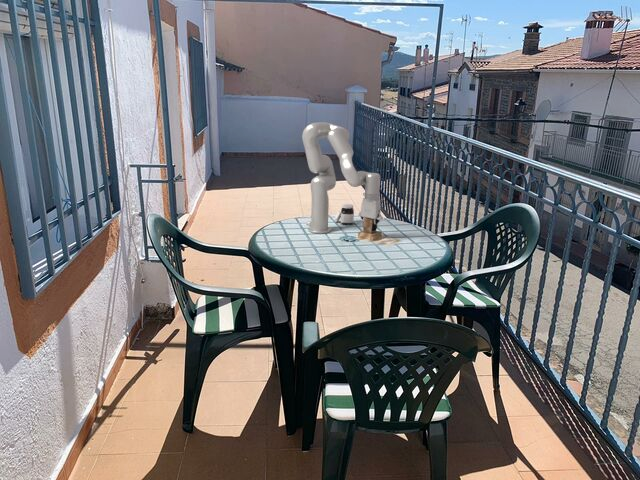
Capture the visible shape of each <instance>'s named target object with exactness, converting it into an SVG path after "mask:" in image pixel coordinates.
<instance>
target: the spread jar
mask: <svg viewBox="0 0 640 480" xmlns="http://www.w3.org/2000/svg"><path fill="white" fill-rule="evenodd" d="M340 210H341V211H338V212H337V213H336V214H335V216H334V222H335V223H339V221H340V224H341V225H342V226H352V225H354V218H355V211H354V210H355V209H354V204H351V203H343V204H341V209H340Z"/></svg>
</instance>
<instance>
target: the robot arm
mask: <svg viewBox="0 0 640 480" xmlns="http://www.w3.org/2000/svg"><path fill="white" fill-rule="evenodd" d="M301 137H302V139H301V140H302V144H303V147H304V151H305V155H306V156H305V157H306V159H307V164H308V165H307V166H308V168H309V171H310V172H311V173H313V174H319V175H317V176H315V177H313V178H312V179H311V182H310V184H309V185H310V193H311V217H310V218H311V221H309V220H308V221H307V223H306V226H309V227H308V232H309V233H312V234H328V233H330V232H331V228H330V227H329V209H330V208H329V205H330V204H329V203H330V202H329V200H330V199H329V194H328V191H331V190H333V189H334V188H335V187H336V184H337V178H336V173H335V169H334V165H333V161H332V160H331V158H330V157H329V156H328V155H327V154H323V153H322V149H321V145H320V143H319V141H318V139H327V140H328V141H329V143H330V144H331V147H332V149H333V150H334V152H335V154H336V155H337V157H338V160H339V166H340V170H341V173H342V175H343V177H344V178H345V180H346V182H347V184H348V185H349V186H351V187H353V188H358V187H360V186H364V185H365V186H364V187H365V188H364V192H363V194H362V196H363V198H362V201H361V206H360V212H359V213H358V217H359V218H360V219H361V220H362V223H363V225H362V227H363V226H364V218H370V219H373V223H374V224H373V227H372V231H377V229H378V224H379V223H380V222H381V221H383V218H384V217H383V216H382V214H381V201H380V187H381V175H380V174H379V173H377V172H369V171H365V170H358V171H357V170H356V168H355V166H354V164H353V156H354V150H353V148H352V146H351V145H350V143H349V140H350V132H349V130H348V129H347V128H345V127H343V126H339V125H336V124H333V123H329V122H326V121H324V122H323V121H321V122H320V121H319V122H313V123H310V124H308V125H307V126H306V127H304V129H303V132H302V135H301Z"/></svg>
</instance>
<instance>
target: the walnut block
mask: <svg viewBox="0 0 640 480" xmlns="http://www.w3.org/2000/svg"><path fill="white" fill-rule="evenodd" d="M373 224H374V223H373V219H370V218H364V226H363V225H362V229H363V230H362V231H363V232H364V233H369V234H374V233H376V231H377V230H376V231H372V227H373Z"/></svg>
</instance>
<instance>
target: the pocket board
mask: <svg viewBox="0 0 640 480" xmlns="http://www.w3.org/2000/svg"><path fill="white" fill-rule="evenodd" d="M354 239H356V240H361V241H366V242H370V243H374V244H379V245H383V246H386V247H392V246H394V245H396V244H398V243H400V242H401V243H402V242H403V241H404V240H402V239H399V238H398V239H397V238H392V237H388V236H384V235H383V232H382V231H379V230H376V233H374V234H369V233H364V232H363V230H360V231H358V233H357V236H356V237H354Z"/></svg>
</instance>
